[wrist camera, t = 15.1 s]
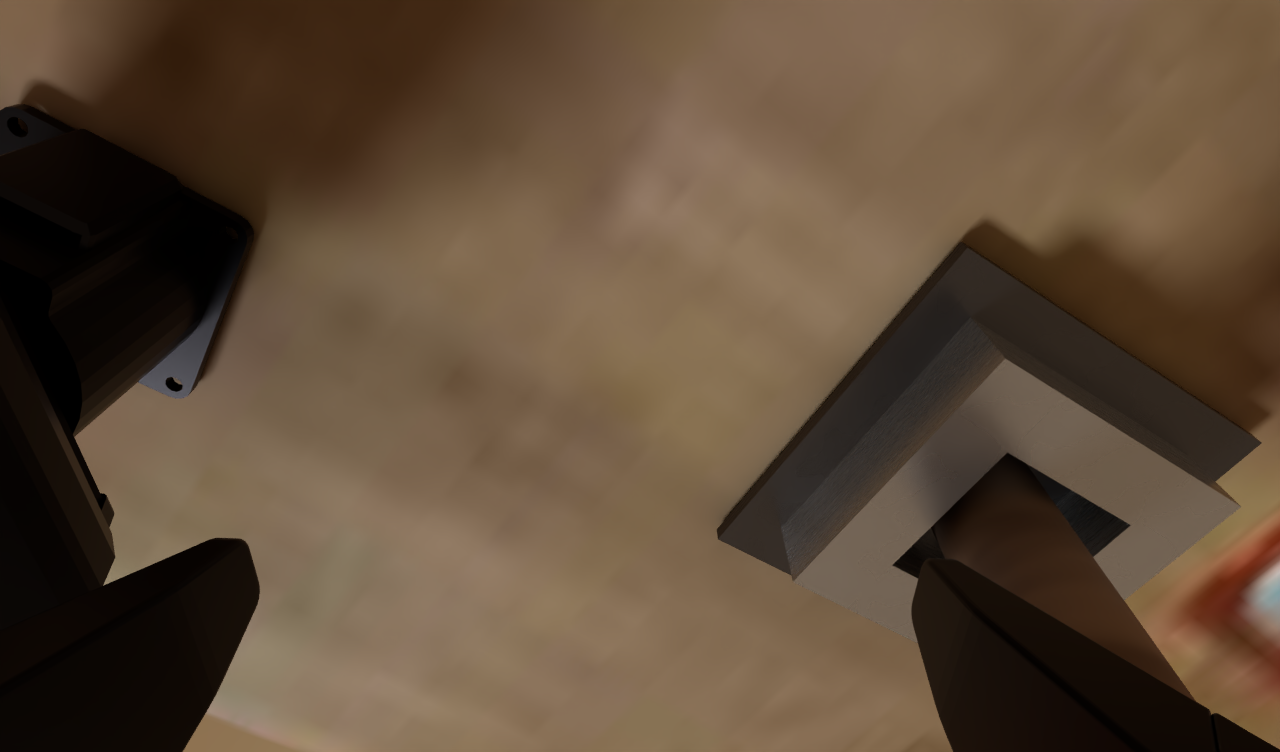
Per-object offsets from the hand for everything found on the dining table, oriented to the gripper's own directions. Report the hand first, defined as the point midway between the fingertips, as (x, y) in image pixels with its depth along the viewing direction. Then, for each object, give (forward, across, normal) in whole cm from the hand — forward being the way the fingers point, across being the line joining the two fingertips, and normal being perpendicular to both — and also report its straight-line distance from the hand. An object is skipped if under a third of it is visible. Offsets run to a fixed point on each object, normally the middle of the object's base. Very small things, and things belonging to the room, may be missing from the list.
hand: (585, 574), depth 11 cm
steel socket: (+13, +12, -8) cm, 19 cm away
